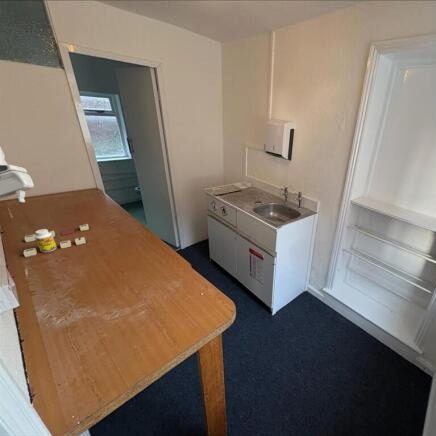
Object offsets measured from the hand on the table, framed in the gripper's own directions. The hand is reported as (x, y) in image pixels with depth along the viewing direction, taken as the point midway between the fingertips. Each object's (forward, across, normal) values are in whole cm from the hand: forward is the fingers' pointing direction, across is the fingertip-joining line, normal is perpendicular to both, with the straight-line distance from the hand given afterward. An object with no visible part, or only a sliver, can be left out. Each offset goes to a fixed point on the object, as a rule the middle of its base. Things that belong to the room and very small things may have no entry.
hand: (8, 207), depth 91 cm
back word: (+7, -13, +36) cm, 39 cm away
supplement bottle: (+17, -9, +21) cm, 28 cm away
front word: (+17, -7, +22) cm, 29 cm away
